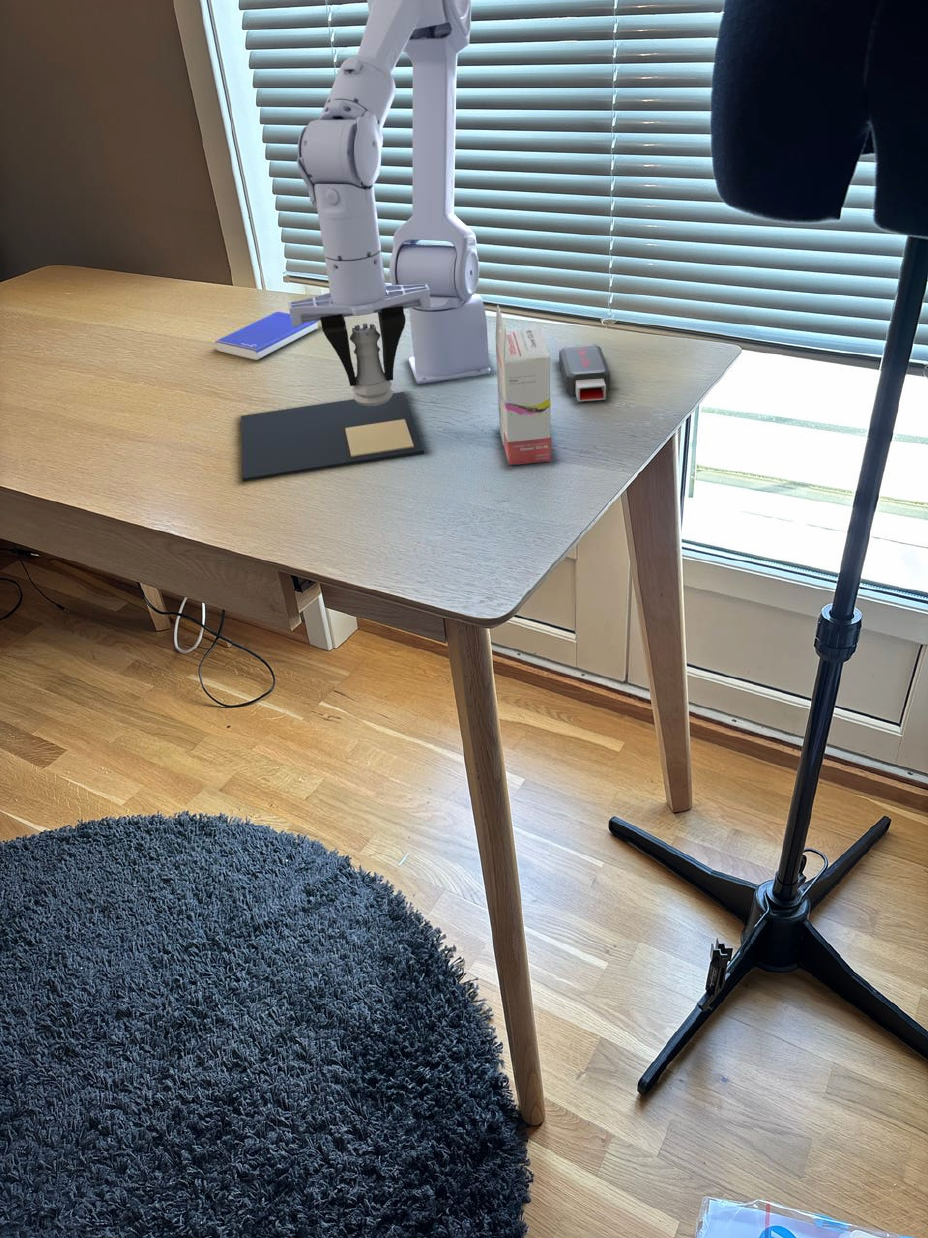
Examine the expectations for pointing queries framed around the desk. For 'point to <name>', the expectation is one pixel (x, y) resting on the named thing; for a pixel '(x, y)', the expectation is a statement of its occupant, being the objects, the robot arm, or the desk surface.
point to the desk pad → (326, 437)
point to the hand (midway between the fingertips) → (370, 379)
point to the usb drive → (584, 372)
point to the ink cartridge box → (523, 393)
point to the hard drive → (263, 336)
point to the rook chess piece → (369, 368)
